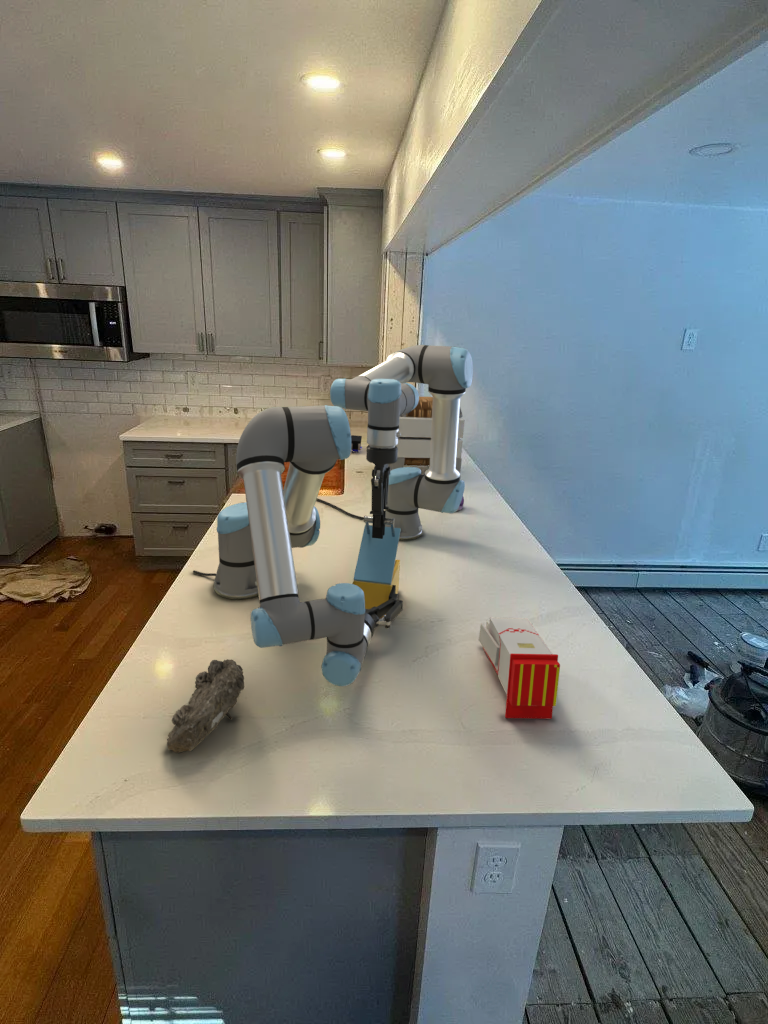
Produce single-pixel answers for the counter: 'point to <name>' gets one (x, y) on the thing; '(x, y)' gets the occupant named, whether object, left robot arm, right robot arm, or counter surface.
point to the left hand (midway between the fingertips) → (374, 587)
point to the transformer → (421, 436)
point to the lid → (377, 554)
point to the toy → (522, 666)
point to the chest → (379, 589)
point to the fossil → (206, 705)
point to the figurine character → (355, 443)
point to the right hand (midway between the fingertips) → (378, 535)
